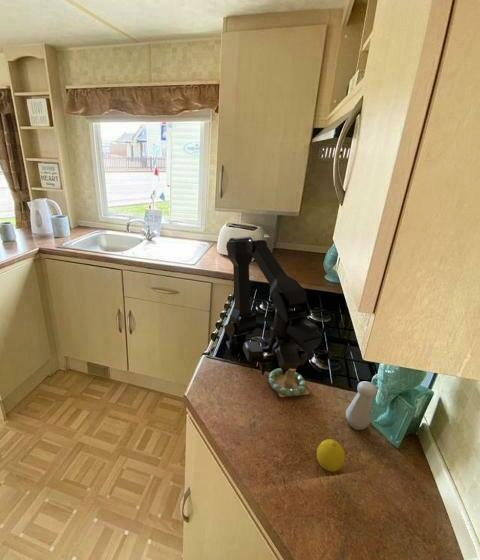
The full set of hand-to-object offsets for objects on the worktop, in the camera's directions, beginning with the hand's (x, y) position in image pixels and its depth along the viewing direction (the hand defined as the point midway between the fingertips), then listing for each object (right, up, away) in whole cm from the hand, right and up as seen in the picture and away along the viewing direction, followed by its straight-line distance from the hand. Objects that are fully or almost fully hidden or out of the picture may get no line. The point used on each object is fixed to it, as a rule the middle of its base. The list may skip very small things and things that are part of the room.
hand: (272, 373), depth 91 cm
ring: (+5, -3, +2) cm, 6 cm away
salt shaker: (+19, -11, -9) cm, 24 cm away
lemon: (+7, -15, -20) cm, 26 cm away
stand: (+5, -5, +3) cm, 8 cm away
